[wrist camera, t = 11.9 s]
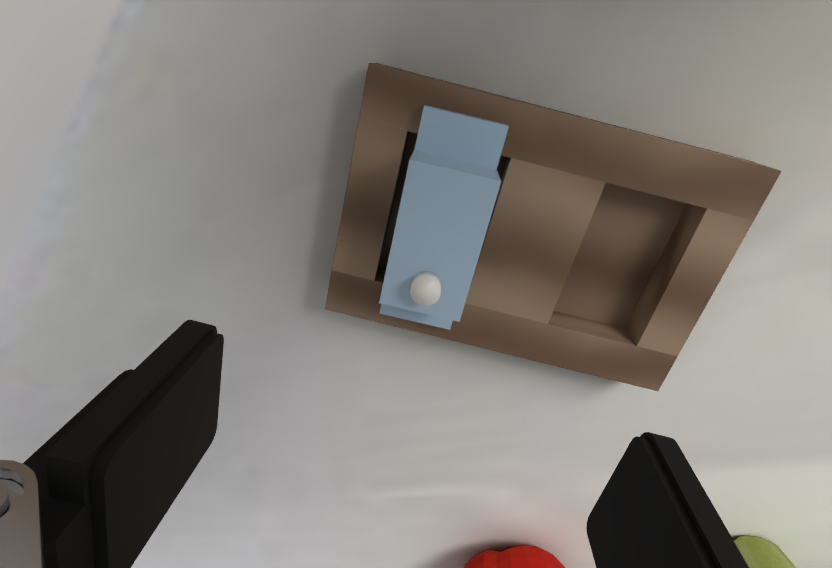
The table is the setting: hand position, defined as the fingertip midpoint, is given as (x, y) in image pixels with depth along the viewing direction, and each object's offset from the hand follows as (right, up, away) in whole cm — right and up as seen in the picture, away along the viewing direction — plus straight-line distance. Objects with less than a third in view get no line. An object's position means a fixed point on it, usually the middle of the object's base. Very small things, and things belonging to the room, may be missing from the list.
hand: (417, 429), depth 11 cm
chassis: (+6, +6, +17) cm, 19 cm away
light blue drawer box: (+1, +7, +16) cm, 18 cm away
